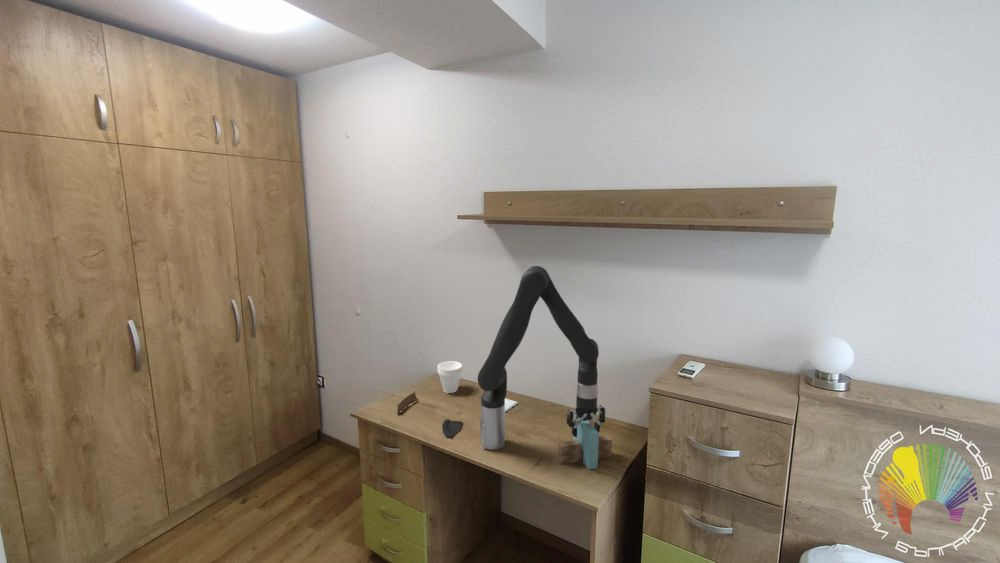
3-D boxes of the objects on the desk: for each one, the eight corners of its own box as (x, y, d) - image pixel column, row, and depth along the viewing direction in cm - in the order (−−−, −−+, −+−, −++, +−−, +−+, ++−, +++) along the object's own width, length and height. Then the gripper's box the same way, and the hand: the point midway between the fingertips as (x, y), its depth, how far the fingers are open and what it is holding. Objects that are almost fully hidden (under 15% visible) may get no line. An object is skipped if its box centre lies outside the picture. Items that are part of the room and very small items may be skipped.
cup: (454, 383, 233) (453, 359, 230) (467, 391, 223) (466, 366, 221) (433, 390, 225) (432, 364, 223) (446, 398, 216) (445, 372, 213)
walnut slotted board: (561, 464, 162) (561, 446, 161) (558, 459, 165) (558, 442, 164) (611, 456, 167) (611, 439, 166) (607, 452, 170) (608, 435, 168)
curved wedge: (436, 439, 181) (436, 435, 180) (445, 422, 194) (444, 419, 194) (456, 440, 180) (456, 436, 179) (463, 423, 193) (463, 420, 193)
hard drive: (503, 412, 200) (517, 401, 210) (488, 407, 204) (503, 397, 214) (503, 415, 200) (517, 404, 210) (488, 410, 205) (503, 400, 215)
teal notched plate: (597, 468, 160) (598, 432, 157) (588, 469, 159) (589, 433, 156) (581, 447, 173) (582, 414, 170) (572, 448, 172) (573, 415, 170)
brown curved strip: (400, 415, 199) (399, 405, 198) (396, 415, 200) (395, 404, 199) (418, 401, 213) (418, 391, 212) (414, 400, 214) (414, 390, 213)
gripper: (600, 387, 166) (598, 427, 169) (564, 391, 163) (563, 431, 166) (609, 395, 159) (607, 437, 162) (572, 400, 156) (571, 442, 159)
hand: (585, 434), depth 164 cm, fingers open, 8 cm apart
